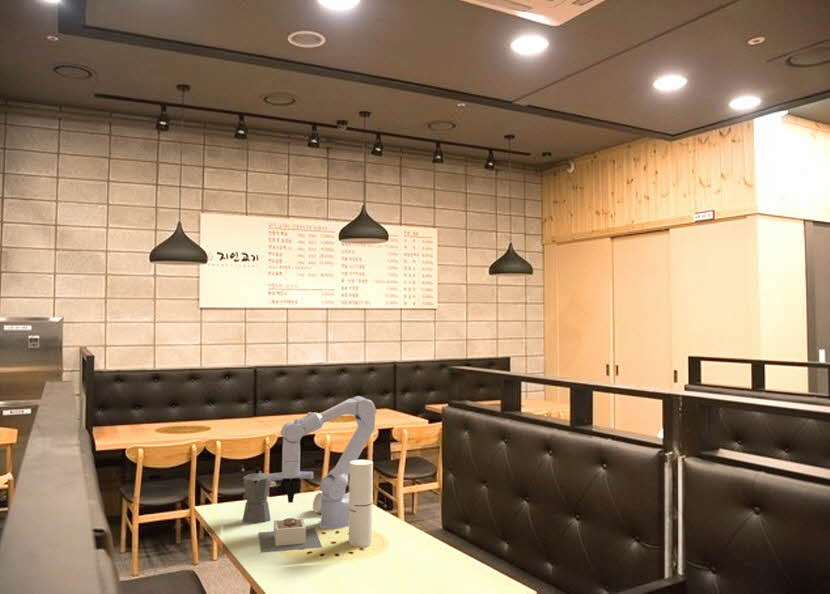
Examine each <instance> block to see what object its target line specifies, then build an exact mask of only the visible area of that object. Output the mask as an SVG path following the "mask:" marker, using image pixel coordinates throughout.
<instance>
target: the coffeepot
mask: <svg viewBox="0 0 830 594" xmlns="http://www.w3.org/2000/svg"><path fill="white" fill-rule="evenodd" d="M254 470H255V471H254V472H255V473H249V474H247V475H246V474H245V476H243V478H242V480H243V486H244V492H245V497H246V502H245V505H244V511H243V516H242V522H243V524H262V523H266V522H269V521H271V514H270V508H269V502H268V496H269V493H270V487H271V482H272V481H268V474H269V473H263V472H262V470H261V468H260V467H256V468H255V469H254Z"/></svg>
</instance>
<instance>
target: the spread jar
mask: <svg viewBox="0 0 830 594" xmlns="http://www.w3.org/2000/svg"><path fill="white" fill-rule="evenodd" d="M348 484H349V483H348ZM348 484H347V485H346V488H345V494H344V496H343V498H349V487H350V485H348ZM322 495H323V492H322V491H321V492H318V493H317V494H316V495H315V497H314V498H313V501H312V510H313V512H314V513H317V514H320V513H321V497H322Z"/></svg>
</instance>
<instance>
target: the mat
mask: <svg viewBox="0 0 830 594" xmlns="http://www.w3.org/2000/svg"><path fill="white" fill-rule="evenodd" d="M258 539H259V540H258V541H259V546H260V547H259V549H260V554H261V553H270V552H272V553H273V552H283V551H295V550H298V551H299V550H307V549H318V548H323V545H322V543H321V540H320V538H319V536H318V533H317V530H316V528H315V527H312V528H306V543H304V544H292V545H280V546H275V540H274V530H273V531H259V532H258Z"/></svg>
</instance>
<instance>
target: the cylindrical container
mask: <svg viewBox="0 0 830 594" xmlns="http://www.w3.org/2000/svg"><path fill="white" fill-rule="evenodd" d="M373 470H374V461H372V460H370V459H369V460H368V459H357V460H353V461H351V462H350V473H349V527H348V544H350V545H351V546H355V547H359V548H360V547H364V548H367V547H366V546H368V547H370V546H372V543H373V492H374V491H373V488H374V487H373V485H374V484H373V481H374V478H373V477H374V471H373ZM369 545H370V546H369Z"/></svg>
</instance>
